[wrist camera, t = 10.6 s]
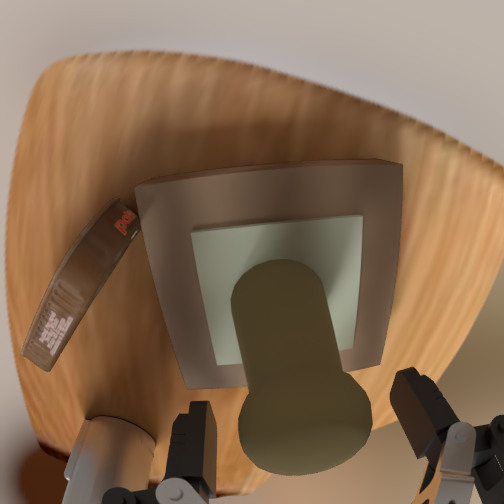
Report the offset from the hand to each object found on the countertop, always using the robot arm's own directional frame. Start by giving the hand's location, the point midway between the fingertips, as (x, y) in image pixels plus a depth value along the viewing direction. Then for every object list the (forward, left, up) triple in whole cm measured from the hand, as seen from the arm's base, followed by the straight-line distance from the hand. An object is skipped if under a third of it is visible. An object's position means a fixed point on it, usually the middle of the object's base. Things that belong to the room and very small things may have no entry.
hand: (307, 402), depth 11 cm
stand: (0, 0, -12) cm, 12 cm away
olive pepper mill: (0, 0, -8) cm, 8 cm away
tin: (-14, +2, -12) cm, 19 cm away
